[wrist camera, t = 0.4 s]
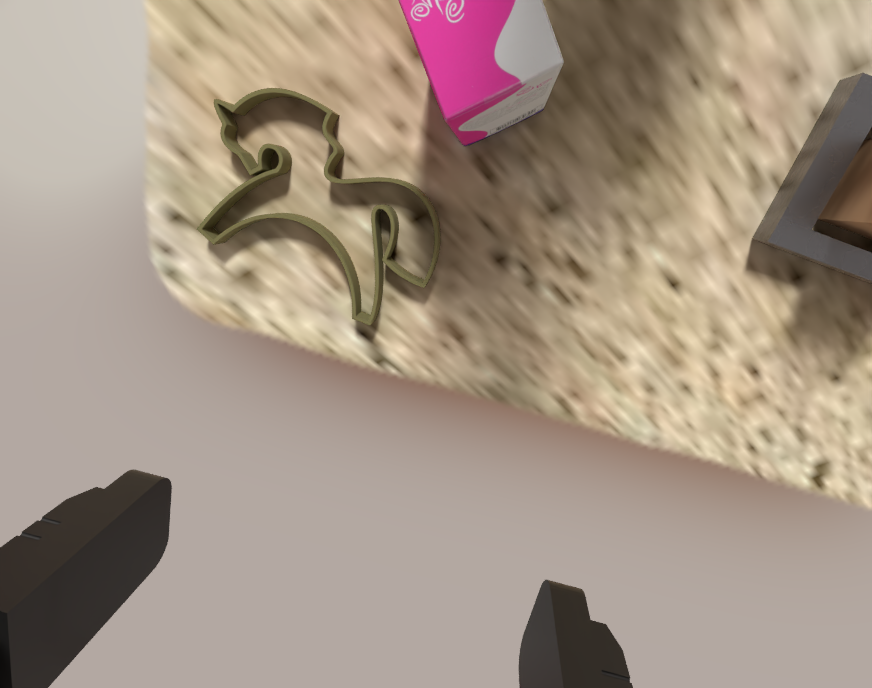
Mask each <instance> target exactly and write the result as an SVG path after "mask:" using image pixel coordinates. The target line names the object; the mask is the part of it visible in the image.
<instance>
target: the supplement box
mask: <svg viewBox="0 0 872 688" xmlns="http://www.w3.org/2000/svg"><path fill="white" fill-rule="evenodd" d="M399 3H400V6H401V8H402V11H403V13H404V16H405V18H406V21H407V24H408V26H409V29H410V32H411V34H412V37H413V40H414V42H415V45H416V48H417V50H418V53H419V55H420V58H421V61H422V63H423V66H424V68H425V71H426V74H427V76H428V79H429V82H430V84H431V87H432V90H433V92H434V95H435V97H436V100H437V102H438V105H439V108H440V110H441V113H442V115H443V118H444V120H445V121H446V123H447V124H448V125H449V126H450V128H451V130H452V131H453V132H454V134H455V135H456V136H457V138H458V139H459V141H460V142H461V143H462V145H464V146H467V145H471V144H473V143H475V142H477V141H480V140H482V139H484V138H486V137H489V136H491V135H493V134H495V133H497V132H499V131H501V130H504V129H506V128H508V127H510V126H512V125H514V124H516V123H518V122H520V121H522V120H525V119H527V118H529V117H531V116H533V115H535V114H537V113H539V112H541V111H543V110H544V107H545V104H546V102H547V100H548V97H549V95H550V93H551V90H552V88H553V86H554V84H555V81H556V79H557V77H558V74H559V72H560V70H561V68H562V65H563V63H564V61H563V57H562V55H561V52H560V48H559V46H558V43H557V40H556V37H555V34H554V32H553V29H552V26H551V23H550V20H549V17H548V15H547V12H546V9H545V6H544V4H543V1H542V0H399Z"/></svg>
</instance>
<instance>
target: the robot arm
mask: <svg viewBox="0 0 872 688" xmlns="http://www.w3.org/2000/svg"><path fill="white" fill-rule="evenodd" d="M171 487H172V486H171V482H170V480H169V479H168V478H164V477H161V476H157V475H153V474H149V473H145V472H141V471H138V470H130V471H127V472H126V473H125V474H123V475H122V476H121V477H119V478H118V479H117V480H115V481H114V482H113V483H112V484H110V485H109V486H108V487H106V488H105V489H102V488H98V487H95V488H93V489H90V490H88V491H86V492H83V493H81V494H78V495H76V496H74V497H71V498H69V499H66V500H65V501H64V502H62V503H61V504H60V505H58V506H57V507H55V508H54V509H53V510H51V511H50V512H48V513H47V514H46V515H44V516H43V517H42V520H41V521H36V522H35V523H34V524H32V525H31V526H29V527H28V528H27V529H25V530H24V531H23V532H22V534H21V535H20V536H16V537H14V538H13V539H11V540H10V541H9V542H7V543H6V544H5V545H3V546H2V547H0V688H48V687H49V686H50V685H51V684H52V682H53V681H54V680H55V679H56V678H57V677H58V676H59V675H60V674H61V672H62V671H63V670H64V669H65V668H66V667H67V666H68V665H69V664H70V662H71V661H72V660H73V659H74V658H75V657H76V656H77V655H78V653H79V652H80V651H81V650H82V649H83V648H84V647H85V645H86V644H87V643H88V642H89V641H90V640H91V639H92V638H93V636H95V634H96V633H97V632H98V631H99V630H100V629H101V628H102V627H103V625H104V624H105V623H106V622H107V621H108V620H109V619H110V618H111V617H112V615H113V614H114V613H115V612H116V611H117V610H118V609H119V608H120V606H121V605H122V604H123V603H124V602H125V601H126V600H127V599H128V598H129V596H130V595H131V594H132V593H133V592H134V591H135V590H136V589H137V587H138V586H139V585H140V584H141V583H142V582H143V581H144V580H145V579H146V577H147V576H148V575H149V574H150V573H151V572H152V570H153V569H154V568H155V567H156V565H157V564H158V563H159V561H160V559H161V557H162V556H163V553H164V551H165V548H166V546H167V542H168V537H169V522H170V505H171V489H172V488H171ZM519 684H520V688H633V686H632V683H630V676H629V672H628V668H627V665H626V661H625V658H624V654H623V650H622V648H621V647H620V645H619V644H618V642H617V641H616V639H615V638H614V636H613V635H612V633H611V631H610V630H609V629H608V627H607V625H606V624H603V623H599V622H596V621H592V620H590V616H589V611H588V607H587V602H586V597H585V594H584V592H583V590H582V589H579V588H576V587H572V586H568V585H564V584H561V583H556V582H553V581H549V580H545V581H544V582H543V583H542V585H541V588H540V591H539V593H538V596H537V599H536V602H535V605H534V607H533V610H532V613H531V616H530V618H529V621H528V624H527V626H526V629H525V632H524V635H523V639H522V643H521V648H520V656H519Z"/></svg>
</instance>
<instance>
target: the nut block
mask: <svg viewBox="0 0 872 688" xmlns="http://www.w3.org/2000/svg"><path fill="white" fill-rule="evenodd" d="M818 219H819V220H821V221H824V222H827V223H829V224H832V225H835V226H837V227H840V228H843V229H845V230H848V231H850V232H853V233H856V234H858V235H861V236H864V237H866V238H869V239H872V139H866V140H864V141H863V143H862V144H861V146H860V148H859V150H858V151H857V153H856V155H855V156H854V158H853V160H852V162H851V163H850V165H849V167H848V168H847V170H846V172H845V173H844V175H843V177H842V179H841V180H840V182H839V184H838V185H837V187H836V189H835V190H834V192H833V194H832V196H831V197H830V199H829V201H828V202H827V204H826V206H825V207H824V209H823V211H822V213H821V214H820V216H819V218H818Z"/></svg>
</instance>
